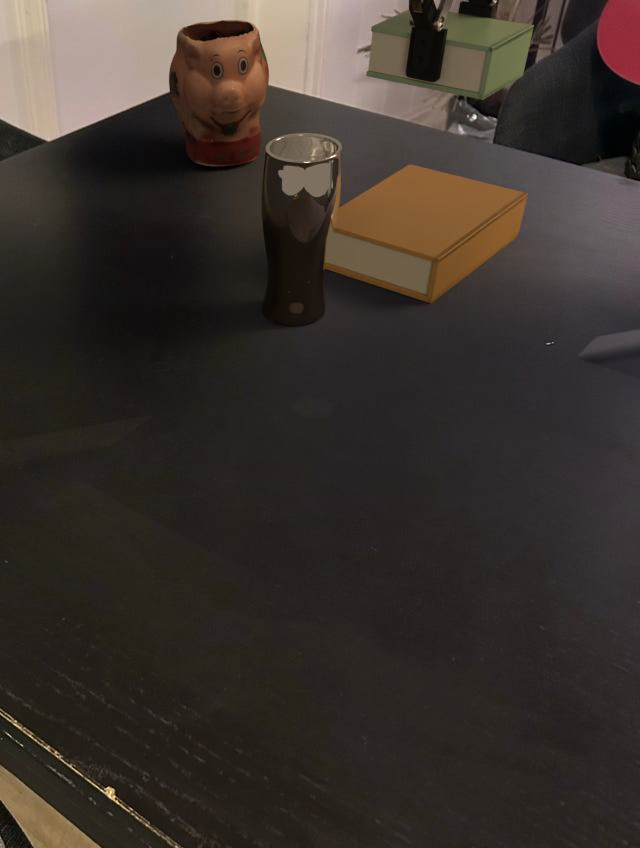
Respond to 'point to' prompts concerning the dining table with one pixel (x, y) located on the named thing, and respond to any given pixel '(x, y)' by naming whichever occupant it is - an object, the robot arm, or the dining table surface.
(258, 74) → the decorative planter
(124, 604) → the dining table surface
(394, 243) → the big book
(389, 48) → the small book
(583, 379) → the dining table surface
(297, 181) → the beer glass
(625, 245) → the dining table surface
